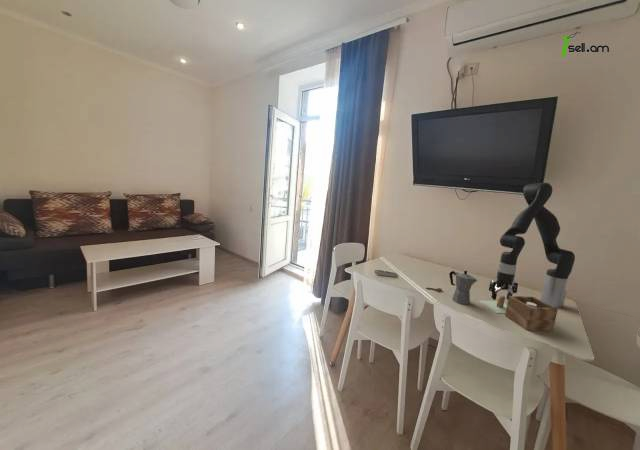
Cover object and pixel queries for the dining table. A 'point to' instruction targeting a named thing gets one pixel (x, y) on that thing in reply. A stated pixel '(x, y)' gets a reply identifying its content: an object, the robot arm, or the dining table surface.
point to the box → (531, 313)
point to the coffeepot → (462, 287)
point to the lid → (496, 305)
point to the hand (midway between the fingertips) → (501, 299)
